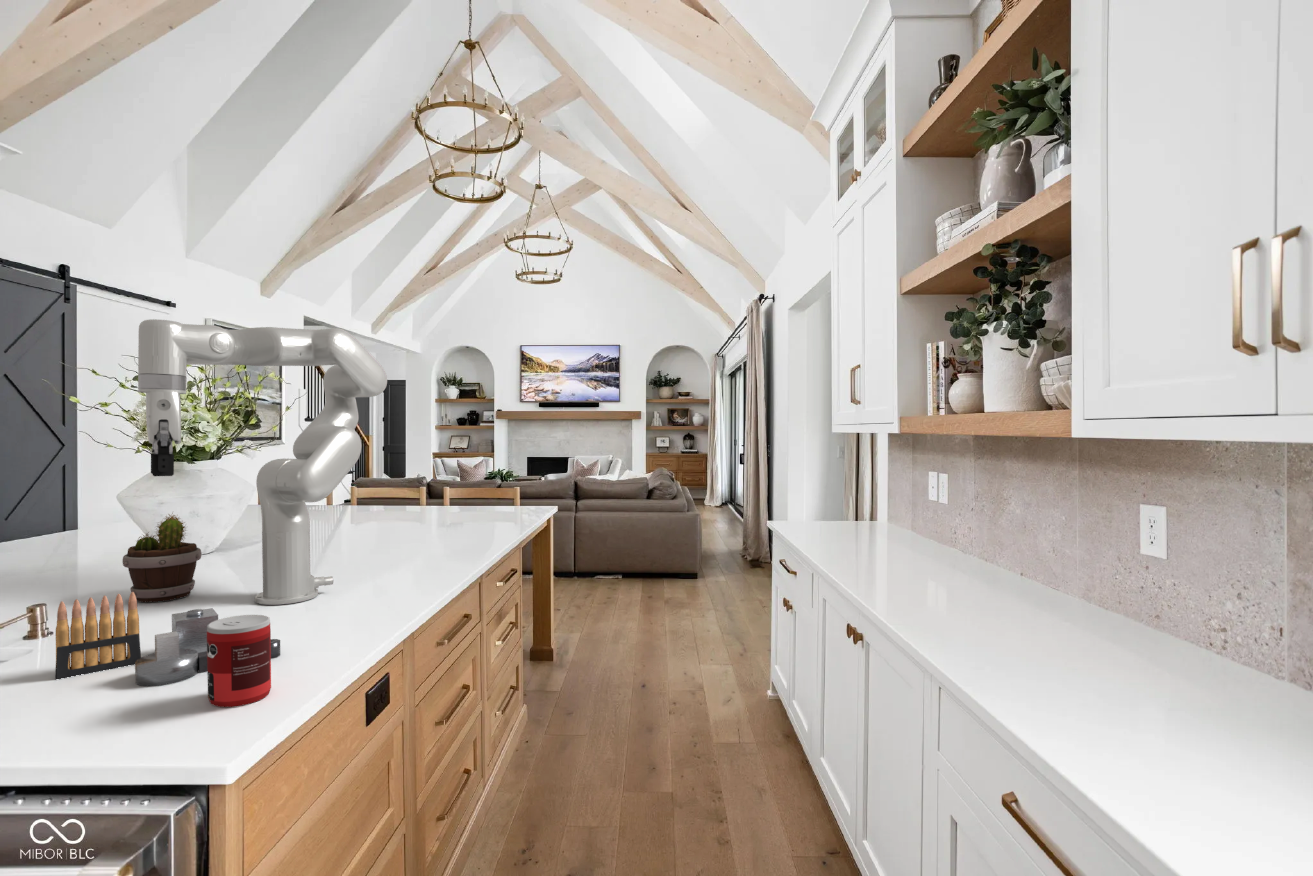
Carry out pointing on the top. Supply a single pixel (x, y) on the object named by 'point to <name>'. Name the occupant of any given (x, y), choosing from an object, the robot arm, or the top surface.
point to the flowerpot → (162, 563)
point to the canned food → (238, 660)
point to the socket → (193, 628)
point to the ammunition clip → (96, 638)
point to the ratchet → (175, 661)
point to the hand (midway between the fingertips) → (162, 474)
